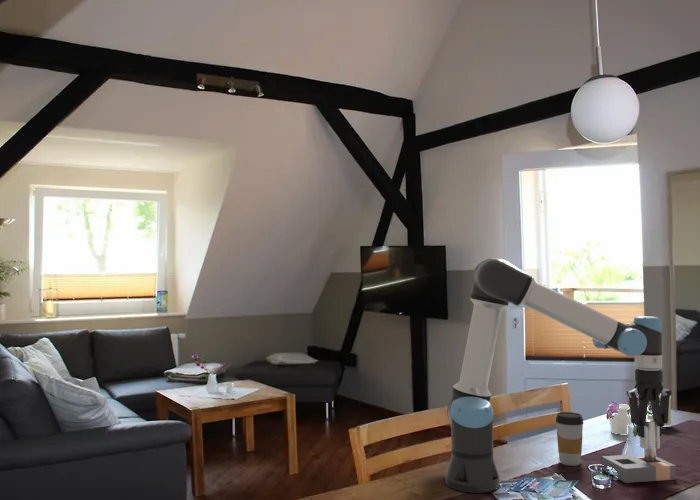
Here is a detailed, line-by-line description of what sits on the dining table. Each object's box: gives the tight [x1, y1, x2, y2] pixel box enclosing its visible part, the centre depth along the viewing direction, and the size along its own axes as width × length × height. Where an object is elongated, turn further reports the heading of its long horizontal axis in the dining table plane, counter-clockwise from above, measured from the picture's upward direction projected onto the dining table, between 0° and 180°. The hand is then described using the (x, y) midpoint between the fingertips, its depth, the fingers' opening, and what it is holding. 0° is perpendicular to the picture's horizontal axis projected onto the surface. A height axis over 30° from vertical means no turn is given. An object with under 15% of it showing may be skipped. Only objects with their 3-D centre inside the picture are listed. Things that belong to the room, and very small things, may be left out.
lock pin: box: [643, 419, 657, 463], centre depth 192 cm, size 3×3×14 cm
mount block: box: [601, 454, 677, 484], centre depth 191 cm, size 16×12×4 cm
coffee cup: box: [555, 411, 584, 466], centre depth 202 cm, size 8×8×15 cm
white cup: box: [608, 403, 633, 434], centre depth 237 cm, size 8×8×10 cm
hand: (649, 447), depth 192 cm, fingers closed on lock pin, 3 cm apart
